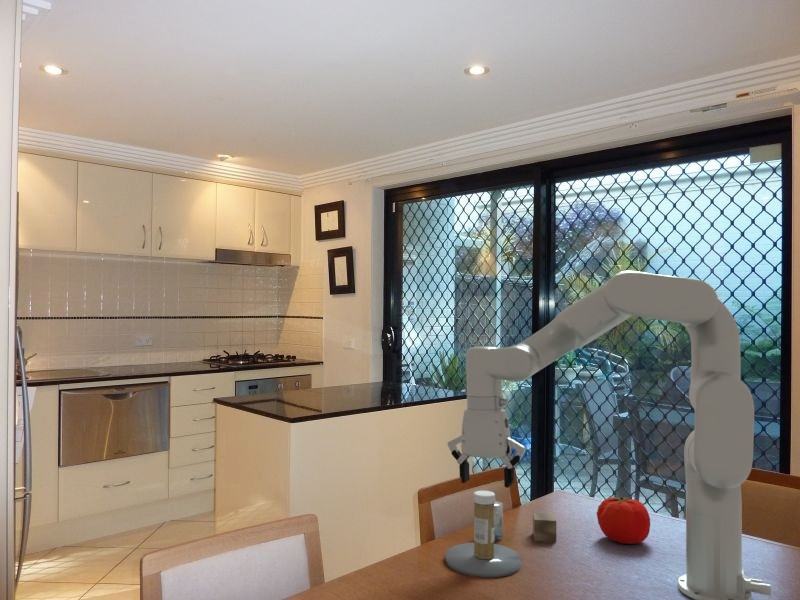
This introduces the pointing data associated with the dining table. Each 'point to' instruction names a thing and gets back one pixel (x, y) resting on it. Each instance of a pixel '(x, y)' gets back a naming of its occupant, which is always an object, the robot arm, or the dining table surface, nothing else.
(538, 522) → the walnut block
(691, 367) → the robot arm
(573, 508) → the dining table surface
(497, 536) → the metal tin
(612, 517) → the tomato
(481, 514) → the sprinkles bottle
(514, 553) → the grey plate
